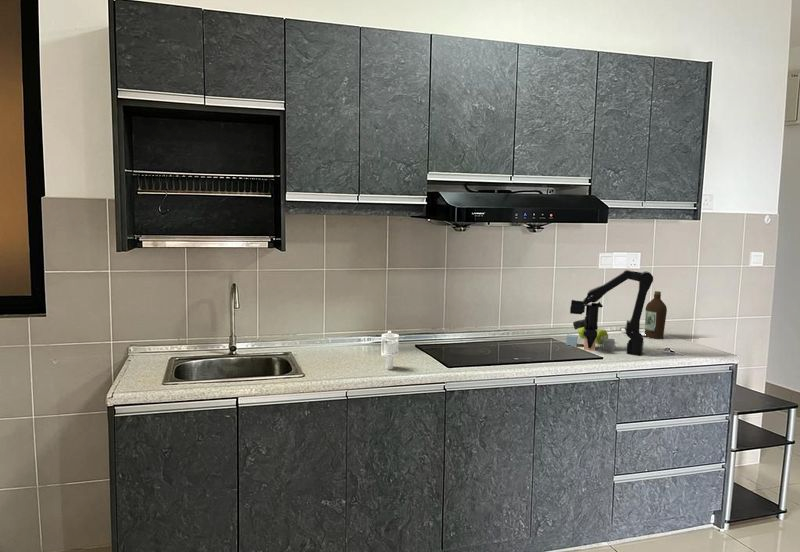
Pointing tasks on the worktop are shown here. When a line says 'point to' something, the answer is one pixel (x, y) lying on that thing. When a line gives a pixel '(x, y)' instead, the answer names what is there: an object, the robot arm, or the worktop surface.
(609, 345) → the charcoal block
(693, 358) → the worktop surface
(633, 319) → the robot arm
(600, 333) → the dumbbell
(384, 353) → the clear stepped cylinder
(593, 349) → the terracotta block
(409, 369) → the worktop surface
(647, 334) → the olive oil
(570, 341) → the slate block
